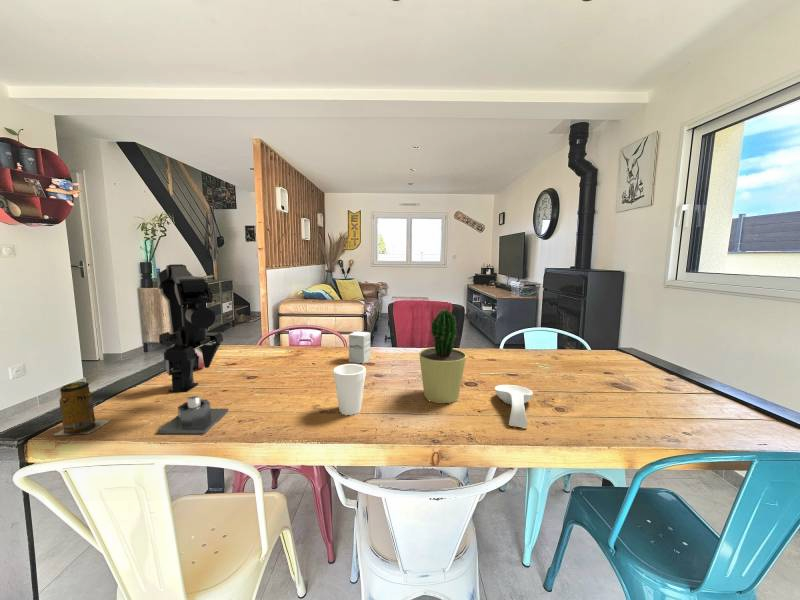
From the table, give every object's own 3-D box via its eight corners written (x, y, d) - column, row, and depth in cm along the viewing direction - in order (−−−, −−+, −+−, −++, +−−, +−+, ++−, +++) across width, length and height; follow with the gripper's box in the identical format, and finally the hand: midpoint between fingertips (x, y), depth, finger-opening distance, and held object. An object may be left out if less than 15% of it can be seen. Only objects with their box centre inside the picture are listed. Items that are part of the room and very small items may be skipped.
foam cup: (332, 405, 100) (331, 365, 98) (361, 401, 103) (361, 362, 102) (337, 420, 91) (336, 376, 90) (369, 415, 95) (369, 372, 93)
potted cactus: (430, 383, 118) (432, 303, 114) (470, 393, 110) (474, 307, 106) (409, 399, 105) (411, 309, 101) (454, 411, 97) (457, 314, 93)
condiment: (77, 421, 89) (72, 380, 88) (110, 420, 90) (106, 379, 89) (52, 436, 82) (45, 391, 81) (88, 434, 83) (82, 390, 81)
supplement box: (348, 362, 141) (348, 334, 139) (356, 357, 148) (355, 330, 146) (363, 364, 138) (363, 335, 137) (370, 359, 145) (370, 332, 144)
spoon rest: (493, 391, 112) (494, 372, 111) (529, 395, 110) (530, 375, 109) (496, 426, 90) (498, 402, 89) (542, 432, 87) (544, 407, 86)
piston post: (187, 411, 96) (185, 389, 95) (228, 411, 96) (226, 389, 95) (158, 433, 84) (155, 408, 83) (204, 433, 84) (202, 408, 83)
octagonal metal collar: (190, 412, 93) (189, 399, 92) (214, 412, 93) (213, 399, 93) (174, 425, 86) (172, 411, 85) (200, 425, 86) (199, 411, 86)
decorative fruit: (180, 371, 128) (178, 346, 127) (199, 364, 136) (197, 341, 135) (199, 373, 126) (197, 348, 124) (216, 366, 133) (215, 343, 132)
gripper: (187, 314, 102) (190, 361, 104) (140, 329, 83) (146, 385, 86) (222, 315, 102) (225, 362, 104) (183, 330, 84) (187, 387, 86)
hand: (197, 373), depth 95 cm, fingers open, 9 cm apart
